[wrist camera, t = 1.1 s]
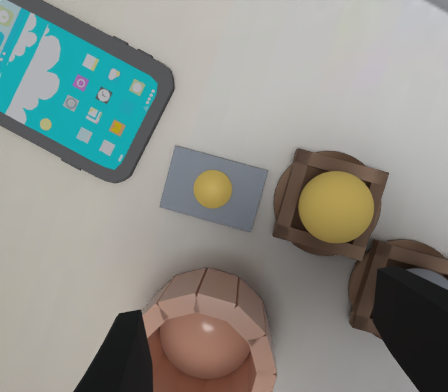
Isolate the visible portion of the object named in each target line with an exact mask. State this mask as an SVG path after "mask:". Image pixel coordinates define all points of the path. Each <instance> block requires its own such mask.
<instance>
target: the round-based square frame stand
mask: <svg viewBox="0 0 448 392" xmlns="http://www.w3.org/2000/svg"><path fill="white" fill-rule="evenodd" d="M330 171H342V172H347V173H350V174H352V175H354V176H356V177H358V178H359V179H360V180H361V181H363V182H364V183H365V185H366V186H367V187H368V189H369V190H370V192H371V194H372V197H373V202H374V214H373V218H372V220H371V223H370V225H369V226H368V228H367V229H366V230H365V231H364V232H363V233H362V234H361V235H360V236H359V237H357V238H356V239H354V240H351V241H349V242H345V243H328V242H325V241H322V240H320V239H318V238H316V237H314V236H313V235H312V234H311V233H309V232H308V230H307V229H306V228H305V226H304V225H303V223H302V221H301V219H300V216H299V208H298V205H299V198H300V195H301V193H302V191H303V189H304V187H305V186H306V185H307V183H308V182H309V181H311V180H312V179H313V178H314V177H316V176H318V175H320V174H322V173H325V172H330ZM388 175H389V173H388V172H384V171H381V170H377V169H373V168H369V167H366V166H365V165H364V164H363V163H362V162H360V161H359V160H357V159H356V158H354V157H352V156H350V155H347V154H344V153H340V152H335V151H322V152H317V153H313V152H310V151H306V150H302V149H297V150H296V153H295V157H294V160H293V164H292V165H291V166H290V167H289V168H288V169H287V170H286V171H285V172H284V174H283V175H282V176H281V178H280V180H279V182H278V184H277V187H276V190H275V195H274V211H275V216H276V219H277V220H276V223H275V227H274V230H273V234H272V235H273V237H277V238H280V239H284V240H287V241H291V242H292V243H293V244H294V245H296V246H297V247H298V248H300V249H302V250H304V251H306V252H309V253H312V254H316V255H322V256H333V255H341V256H345V257H348V258H352V259H356V260H359V261H362V259H363V256H364V253H365V250H366V246H367V243H368V240H369V237H370V234H371V233H372V231H373V230H374V228H375V226H376V224H377V222H378V219H379V216H380V211H381V198H382V194H383V191H384V188H385V185H386V181H387V178H388Z"/></svg>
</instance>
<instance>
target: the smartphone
mask: <svg viewBox="0 0 448 392" xmlns="http://www.w3.org/2000/svg"><path fill="white" fill-rule="evenodd" d="M173 92H174V78H173V75H172V71H171V70H170V69H169V68H168V67H166V66H165V65H164V64H162V63H161V62H159V61H157V60H155V59H153V56H151V55H149V54H147V53H146V52H144V51H142V50H140V49H138V50H136V49H134V48H132V47H130V46H128V43H126V42H125V41H123V40H121V39H119V38H117V37H115V36H113V37H111V36H109V35H107V34H105V33H103V32H101V31H100V30H98V29H96V28H94V27H92V26H90V25H88V24H86V23H84V22H82V21H80V20H79V19H77V18H75V17H73V16H71V15H69V14H67V13H65V12H63V11H61V10H60V9H58V8H56V7H54V6H52V5H50V4H48V3H46V2H44V1H42V0H0V126H2V127H4V128H6V129H8V130H10V131H12V132H13V133H15V134H17V135H19V136H21V137H23V138H25V139H27V140H28V141H30V142H32V143H34V144H36V145H38V146H40V147H41V148H43V149H45V150H47V151H49V152H51V153H53V154H55V155H56V156H58V157H60V158H61V160H62V161H64V162H65V163H67V164H69V165H71V166H73V167H75V168H77V169H79V170H81V169H82V170H84V171H86V172H88V173H90V174H92V175H94V176H96V177H98V178H100V179H102V180H104V181H107V182H111V183H119V182H122V181H125V180H126V179H128V178H129V177H131V175H132V173H133V171H134V169H135V167H136V165H137V163H138V161H139V159H140V157H141V155H142V153H143V151H144V149H145V147H146V146H147V144H148V142H149V140H150V138H151V136H152V134H153V132H154V130H155V128H156V126H157V124H158V122H159V120H160V118H161V116H162V114H163V112H164V110H165V108H166V106H167V104H168V102H169V100H170V98H171V96H172V94H173Z"/></svg>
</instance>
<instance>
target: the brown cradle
mask: <svg viewBox="0 0 448 392" xmlns="http://www.w3.org/2000/svg"><path fill="white" fill-rule="evenodd" d="M391 266H398V267H400V268H403V269H405V270H406V269H412V268H420V269H427V270H430V271H433V272H436V273H438V274H440V275H441V276H443V277H444V278H446V279H447V280H448V259H446V258H445V257H444V256H443V255H442V254H440V253H439V252H438V251H436V250H435V249H433V248H431V247H429V246H427V245H425V244H422V243H419V242H416V241H412V240H404V239H400V240H391V241H387V242H383V241H380V240H376V239H374V241H373V244H372V248H371V249H370V250H368V251H367V252H366V253H365V254H364V256H363V259H362V261H358V262H357V263H356V265H355V267H354V269H353V271H352V273H351V276H350V280H349V288H348V290H349V300H350V304H351V307H352V312H351V316H350V319H349V323H350V325H351V326H352V328H356V329H359V330H363V331H366V332H370V333H372V334H374V335H375V336H377V337H379V338H380V339H382V338H381V336H380V334H379V332H378V331H377V329H376V327H375V325H374V323H373V310H374V299H375V289H376V278H377V269H379V268H385V267H391Z"/></svg>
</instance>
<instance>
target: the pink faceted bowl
mask: <svg viewBox="0 0 448 392" xmlns="http://www.w3.org/2000/svg"><path fill="white" fill-rule="evenodd" d="M142 316H143V321H144V326H145V330H146V335H147V340H148V344H149V349H150V354H151V358H152V363H153V392H272V390H273V387H274V384H275V380H276V377H277V370H276V363H275V357H274V350H273V343H272V336H271V330H270V326H269V323H268V319H267V315H266V311H265V307H264V303H263V301H262V299H261V298H260V297H259V296H258V295H257V294H256V293H255V292H254V291H253V290H252V289H251V288H250V287H249V286H248V285H247V284H246V283H245V282H244V281H243V280H242V279H241V278H239V279H238V276H236V275H232V274H229V273H225V272H222V271H218V270H215V269H211V268H208V269H206V268H202V269H198V270H194V271H190V272H186V273H182V274H178V275H176V276H174V277H173V278H172V279H171V280H170V281H169V282H168V283H167V284H166V285H165V286H164V287H163V288H162V289H161V290H160V291H159V292H158V293H157V294H156V295H155V296H154V297H153V298H152V299H151V301H150V302H149V303H148V305H147V306H146V307H145V308H144V310H143V311H142Z"/></svg>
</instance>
